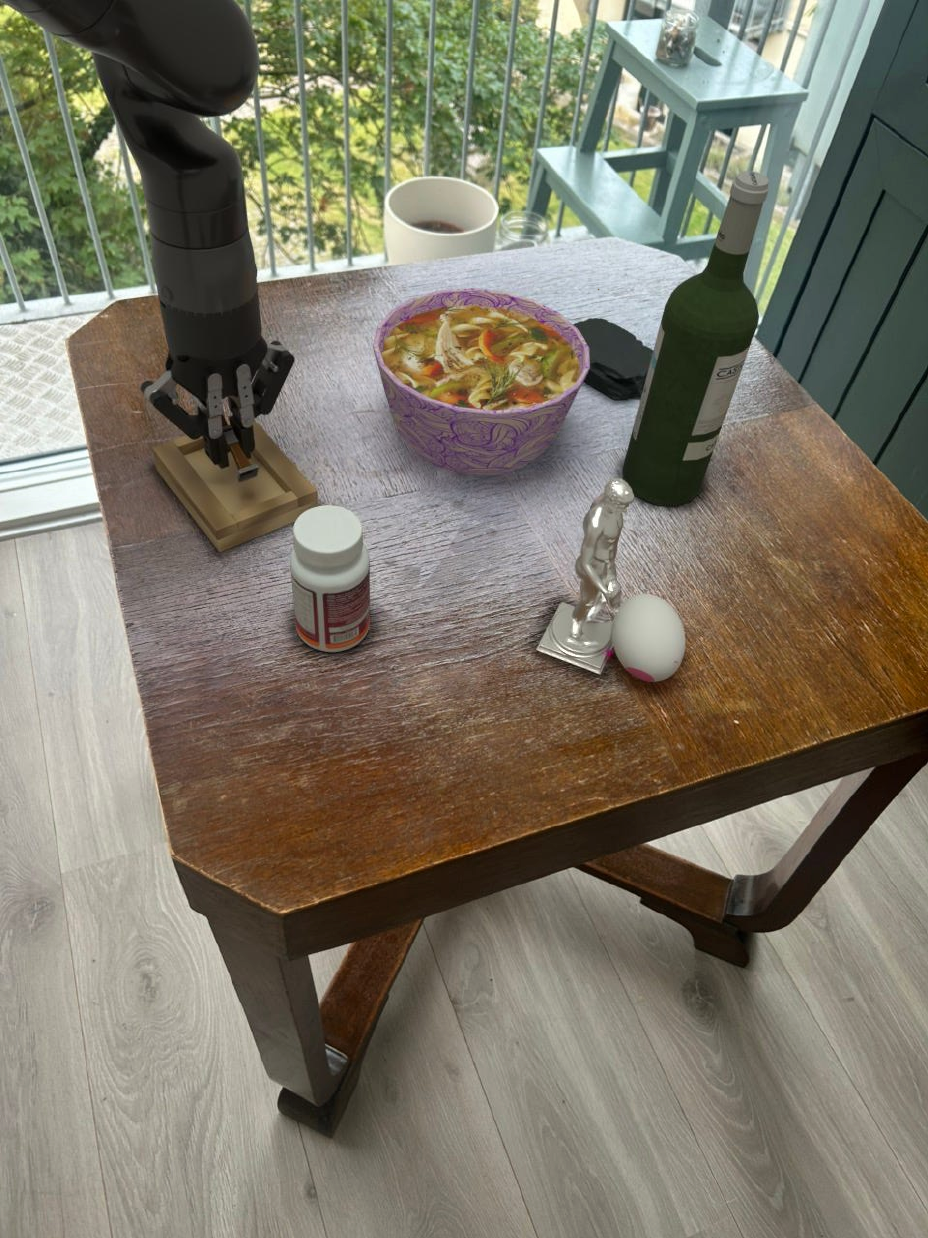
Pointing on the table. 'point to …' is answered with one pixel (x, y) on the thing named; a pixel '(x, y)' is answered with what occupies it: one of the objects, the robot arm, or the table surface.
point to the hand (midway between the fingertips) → (231, 458)
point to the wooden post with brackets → (238, 454)
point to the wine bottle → (697, 360)
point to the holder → (235, 489)
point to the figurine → (592, 586)
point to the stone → (614, 358)
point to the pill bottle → (330, 579)
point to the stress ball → (648, 637)
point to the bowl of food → (479, 377)
